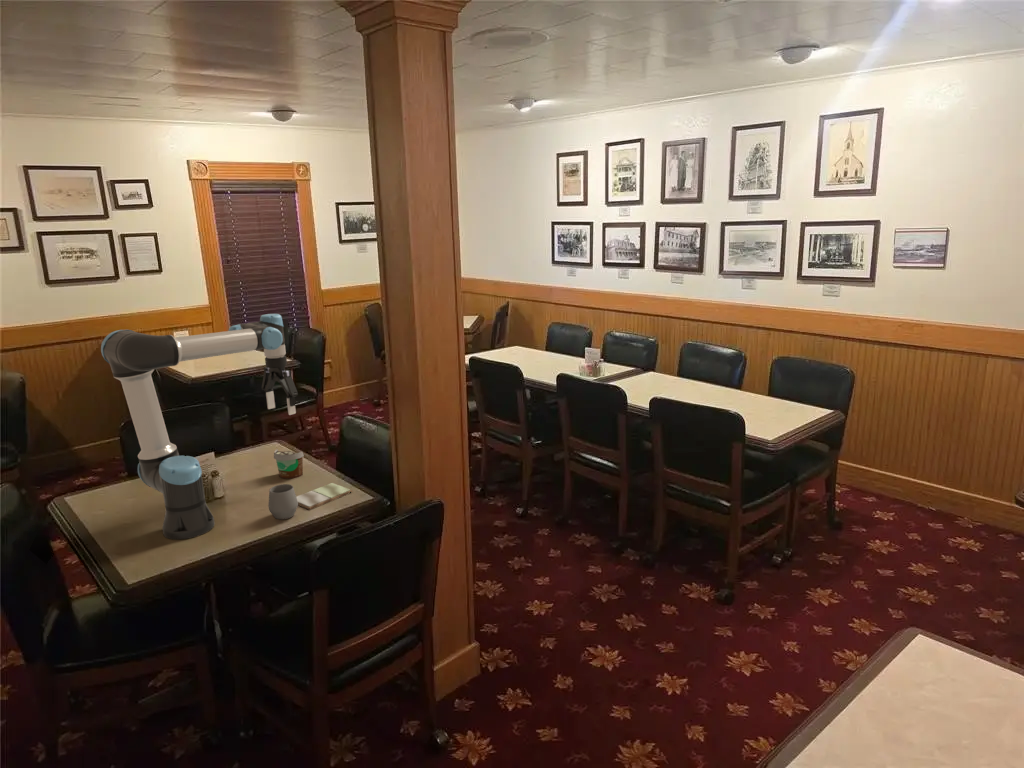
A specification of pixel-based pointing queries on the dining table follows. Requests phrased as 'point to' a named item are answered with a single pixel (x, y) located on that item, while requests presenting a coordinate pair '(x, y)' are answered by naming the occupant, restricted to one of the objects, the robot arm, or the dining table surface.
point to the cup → (282, 501)
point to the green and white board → (321, 495)
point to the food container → (289, 464)
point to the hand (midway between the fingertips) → (281, 411)
